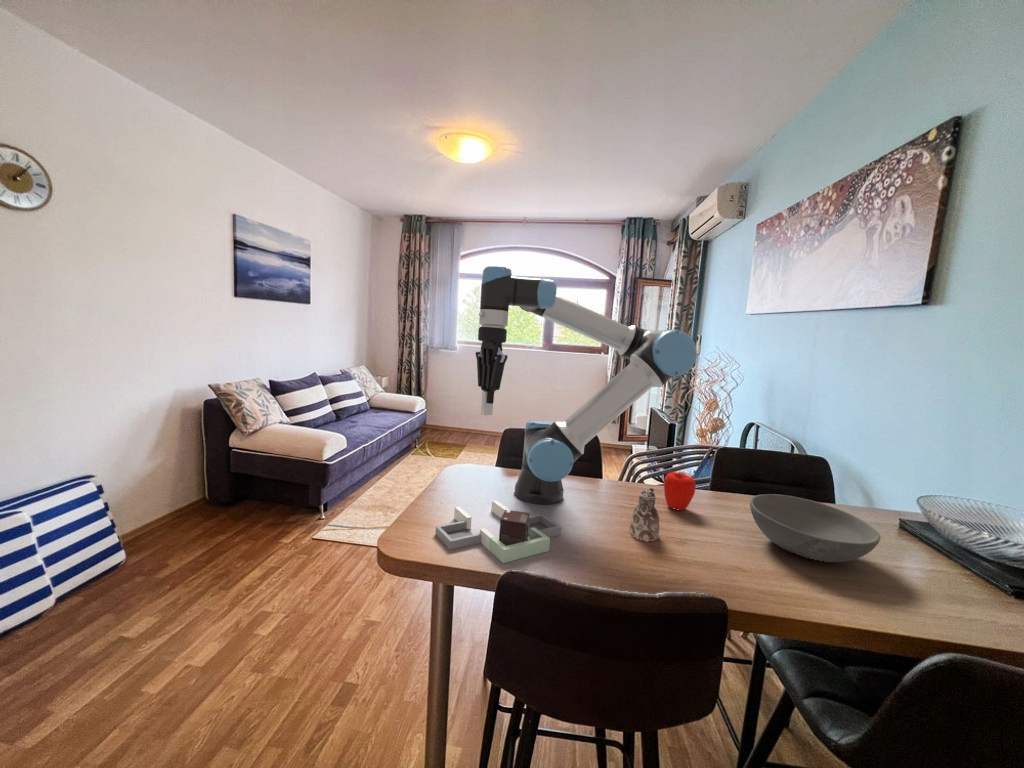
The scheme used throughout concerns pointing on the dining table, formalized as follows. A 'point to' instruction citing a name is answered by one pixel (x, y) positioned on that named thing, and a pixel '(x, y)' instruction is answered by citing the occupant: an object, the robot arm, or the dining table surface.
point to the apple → (678, 490)
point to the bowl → (812, 528)
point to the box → (513, 527)
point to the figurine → (645, 517)
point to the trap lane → (461, 537)
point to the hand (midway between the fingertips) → (486, 414)
